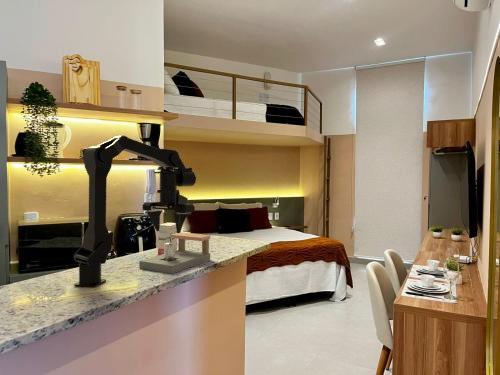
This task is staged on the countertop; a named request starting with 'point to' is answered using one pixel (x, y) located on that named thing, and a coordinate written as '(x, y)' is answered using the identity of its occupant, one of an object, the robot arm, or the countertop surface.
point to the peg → (169, 251)
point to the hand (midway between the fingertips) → (168, 232)
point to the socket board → (179, 255)
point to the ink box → (166, 236)
